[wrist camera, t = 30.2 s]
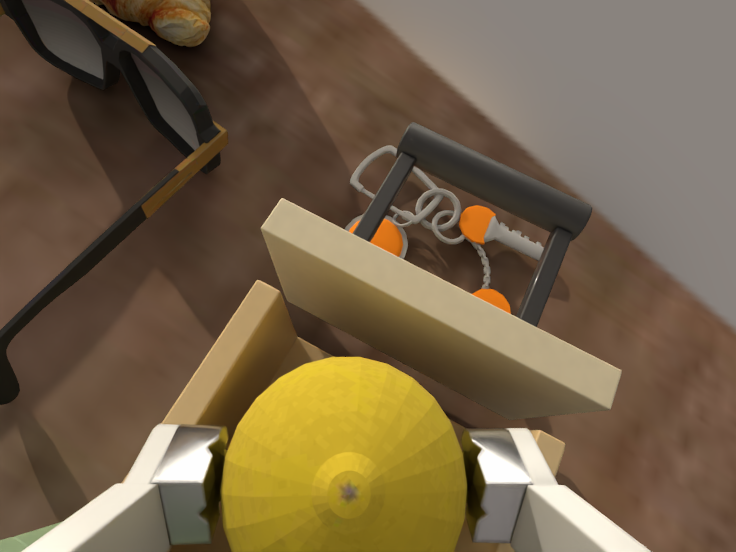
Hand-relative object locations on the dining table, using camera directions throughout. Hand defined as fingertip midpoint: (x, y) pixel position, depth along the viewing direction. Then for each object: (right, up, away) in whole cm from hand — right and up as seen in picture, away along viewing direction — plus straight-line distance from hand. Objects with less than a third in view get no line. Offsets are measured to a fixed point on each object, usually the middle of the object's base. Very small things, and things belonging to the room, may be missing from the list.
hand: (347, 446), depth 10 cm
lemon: (0, -2, +4) cm, 5 cm away
